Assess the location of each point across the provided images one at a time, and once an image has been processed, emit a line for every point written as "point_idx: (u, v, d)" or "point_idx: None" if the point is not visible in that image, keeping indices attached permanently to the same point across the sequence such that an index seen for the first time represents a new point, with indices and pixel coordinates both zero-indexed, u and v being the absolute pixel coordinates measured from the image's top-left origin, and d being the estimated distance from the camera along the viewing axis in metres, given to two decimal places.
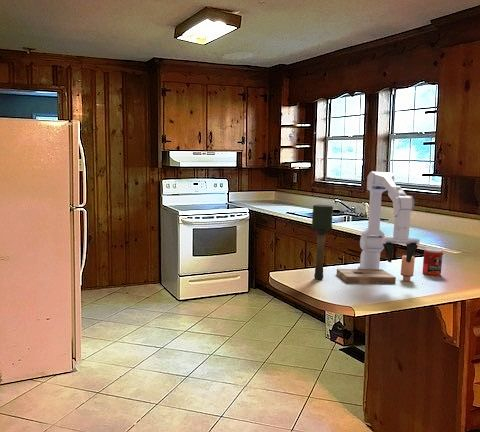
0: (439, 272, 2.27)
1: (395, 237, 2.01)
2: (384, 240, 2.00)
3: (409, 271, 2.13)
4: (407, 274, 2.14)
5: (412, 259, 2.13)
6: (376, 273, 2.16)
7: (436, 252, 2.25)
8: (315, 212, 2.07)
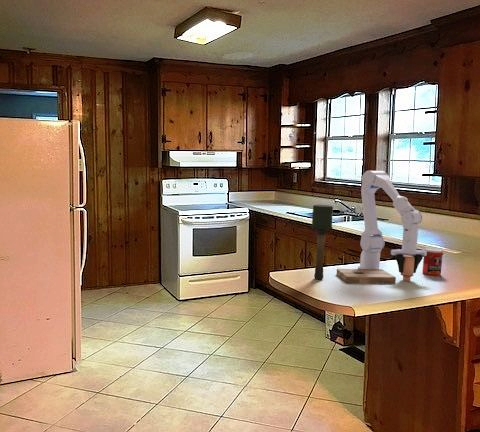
0: (439, 272, 2.27)
1: (404, 249, 2.13)
2: (393, 252, 2.13)
3: (409, 271, 2.13)
4: (407, 274, 2.14)
5: (412, 259, 2.13)
6: (376, 273, 2.16)
7: (436, 252, 2.25)
8: (316, 212, 2.07)
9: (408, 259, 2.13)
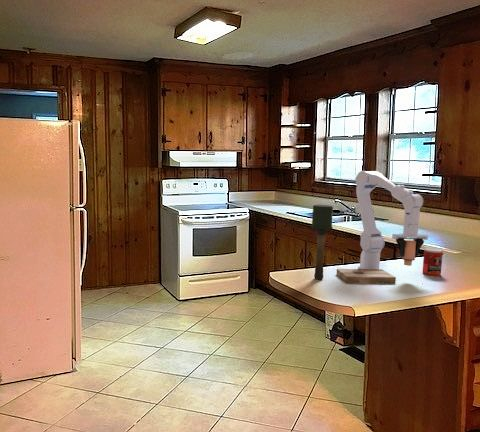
0: (439, 272, 2.27)
1: (405, 233, 2.13)
2: (395, 236, 2.12)
3: (411, 255, 2.13)
4: (408, 258, 2.13)
5: (413, 243, 2.12)
6: (376, 273, 2.16)
7: (436, 252, 2.25)
8: (315, 212, 2.07)
9: (409, 243, 2.12)
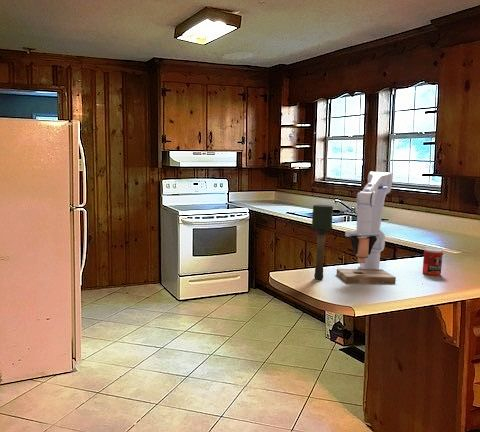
0: (439, 272, 2.27)
1: (358, 230, 2.12)
2: (347, 233, 2.12)
3: (364, 253, 2.12)
4: (361, 255, 2.12)
5: (366, 240, 2.11)
6: (376, 273, 2.16)
7: (436, 252, 2.25)
8: (315, 212, 2.07)
9: (362, 240, 2.11)
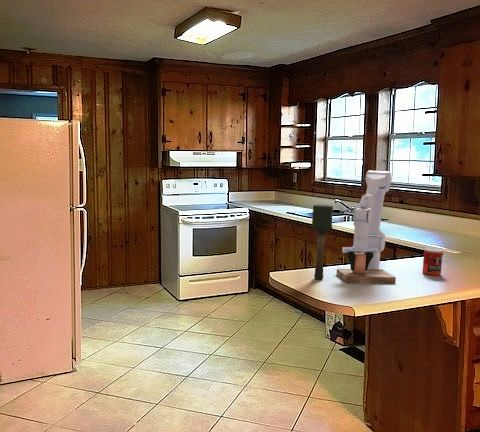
0: (439, 272, 2.27)
1: (355, 247, 2.13)
2: (344, 249, 2.13)
3: (361, 269, 2.13)
4: (358, 272, 2.13)
5: (363, 257, 2.12)
6: (376, 273, 2.16)
7: (436, 252, 2.25)
8: (315, 212, 2.07)
9: (359, 257, 2.12)
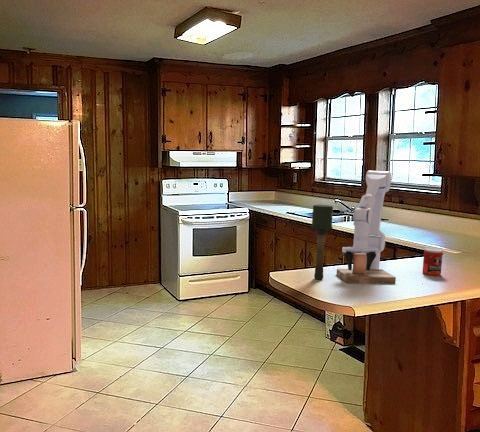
0: (439, 272, 2.27)
1: (355, 246, 2.13)
2: (344, 249, 2.13)
3: (361, 269, 2.13)
4: (358, 272, 2.13)
5: (363, 257, 2.12)
6: (376, 273, 2.16)
7: (436, 252, 2.25)
8: (315, 212, 2.07)
9: (359, 257, 2.12)
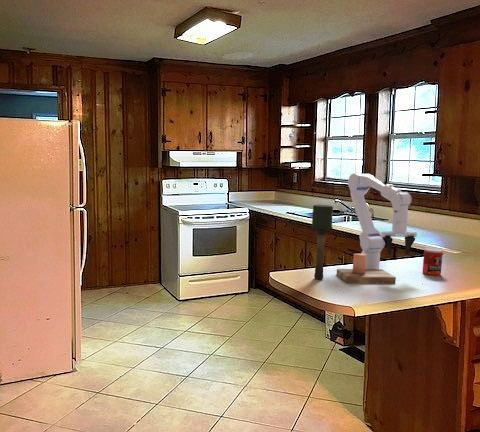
0: (439, 272, 2.27)
1: (394, 230, 2.16)
2: (383, 233, 2.15)
3: (361, 269, 2.13)
4: (358, 272, 2.13)
5: (363, 257, 2.12)
6: (376, 273, 2.16)
7: (436, 252, 2.25)
8: (315, 212, 2.07)
9: (359, 257, 2.12)
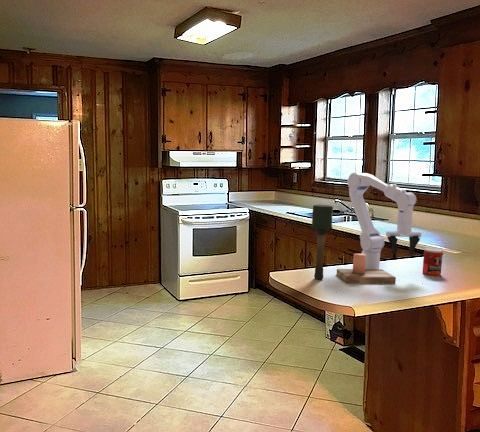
0: (439, 272, 2.27)
1: (399, 231, 2.16)
2: (388, 233, 2.16)
3: (361, 269, 2.13)
4: (358, 272, 2.13)
5: (363, 257, 2.12)
6: (376, 273, 2.16)
7: (436, 252, 2.25)
8: (315, 212, 2.07)
9: (359, 257, 2.12)
